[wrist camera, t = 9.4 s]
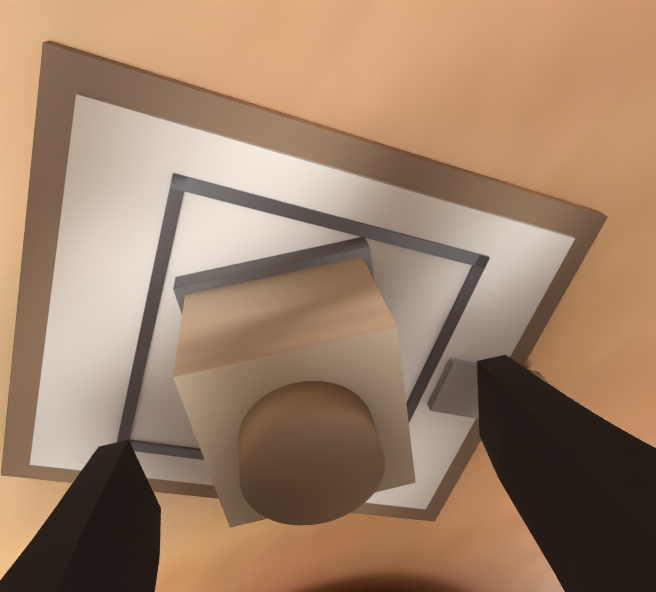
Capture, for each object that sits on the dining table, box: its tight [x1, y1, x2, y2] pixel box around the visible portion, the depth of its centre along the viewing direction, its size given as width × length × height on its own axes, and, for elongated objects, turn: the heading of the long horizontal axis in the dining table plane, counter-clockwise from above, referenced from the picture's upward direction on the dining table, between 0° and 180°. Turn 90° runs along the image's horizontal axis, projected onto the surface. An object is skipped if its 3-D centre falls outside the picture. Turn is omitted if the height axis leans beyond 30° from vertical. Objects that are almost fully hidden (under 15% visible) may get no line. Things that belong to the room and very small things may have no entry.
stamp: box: [173, 237, 416, 527], centre depth 12 cm, size 4×4×5 cm
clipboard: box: [1, 41, 607, 521], centre depth 14 cm, size 14×11×1 cm
